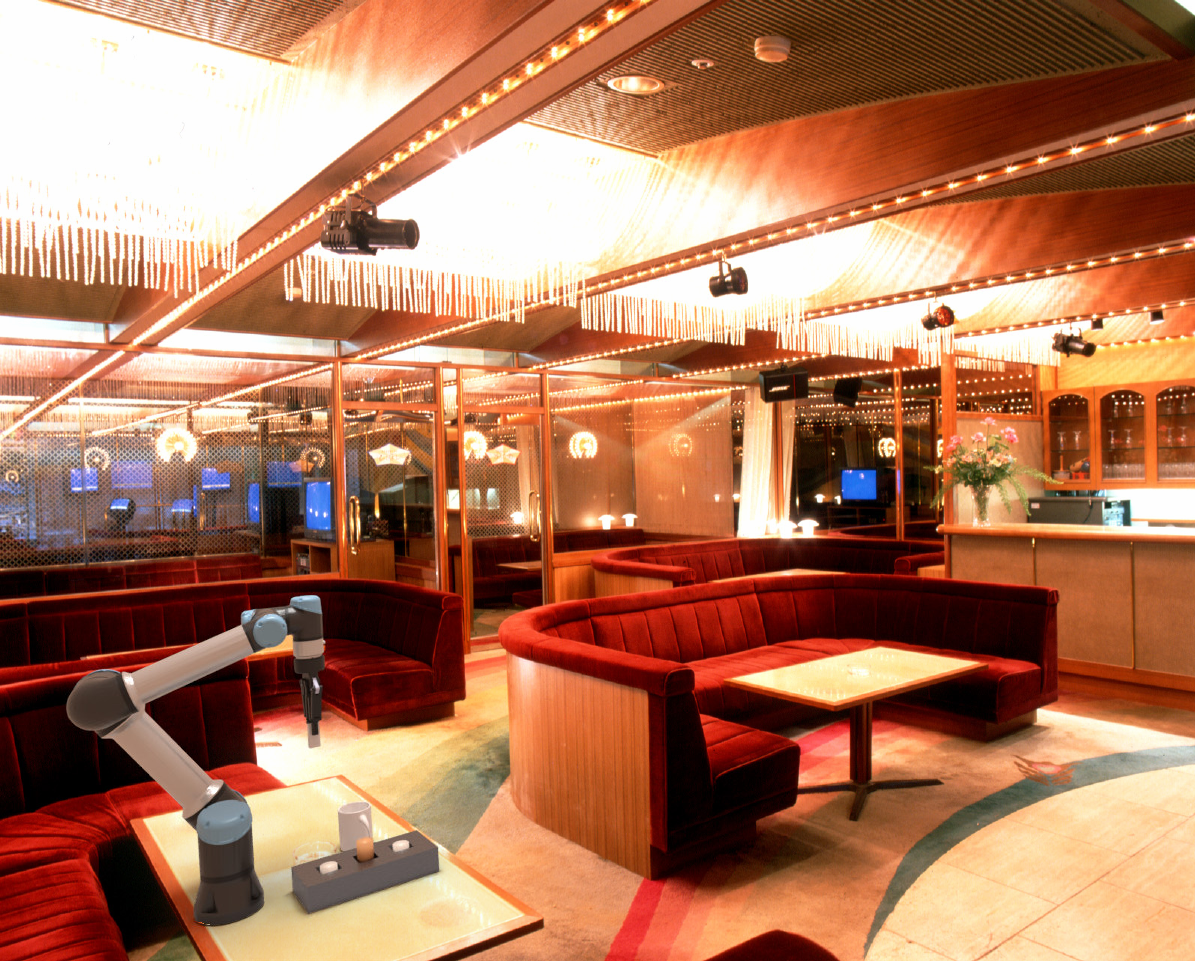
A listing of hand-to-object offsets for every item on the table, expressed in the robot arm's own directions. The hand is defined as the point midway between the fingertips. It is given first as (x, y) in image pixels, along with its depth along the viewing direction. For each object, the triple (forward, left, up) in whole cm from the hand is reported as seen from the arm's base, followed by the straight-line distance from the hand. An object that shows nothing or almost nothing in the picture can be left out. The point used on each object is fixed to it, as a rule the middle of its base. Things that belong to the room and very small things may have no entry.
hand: (314, 746), depth 219 cm
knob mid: (+6, -18, -25) cm, 32 cm away
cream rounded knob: (+15, -18, -29) cm, 37 cm away
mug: (+11, +3, -31) cm, 33 cm away
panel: (+6, -18, -30) cm, 36 cm away
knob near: (-3, -18, -29) cm, 34 cm away
